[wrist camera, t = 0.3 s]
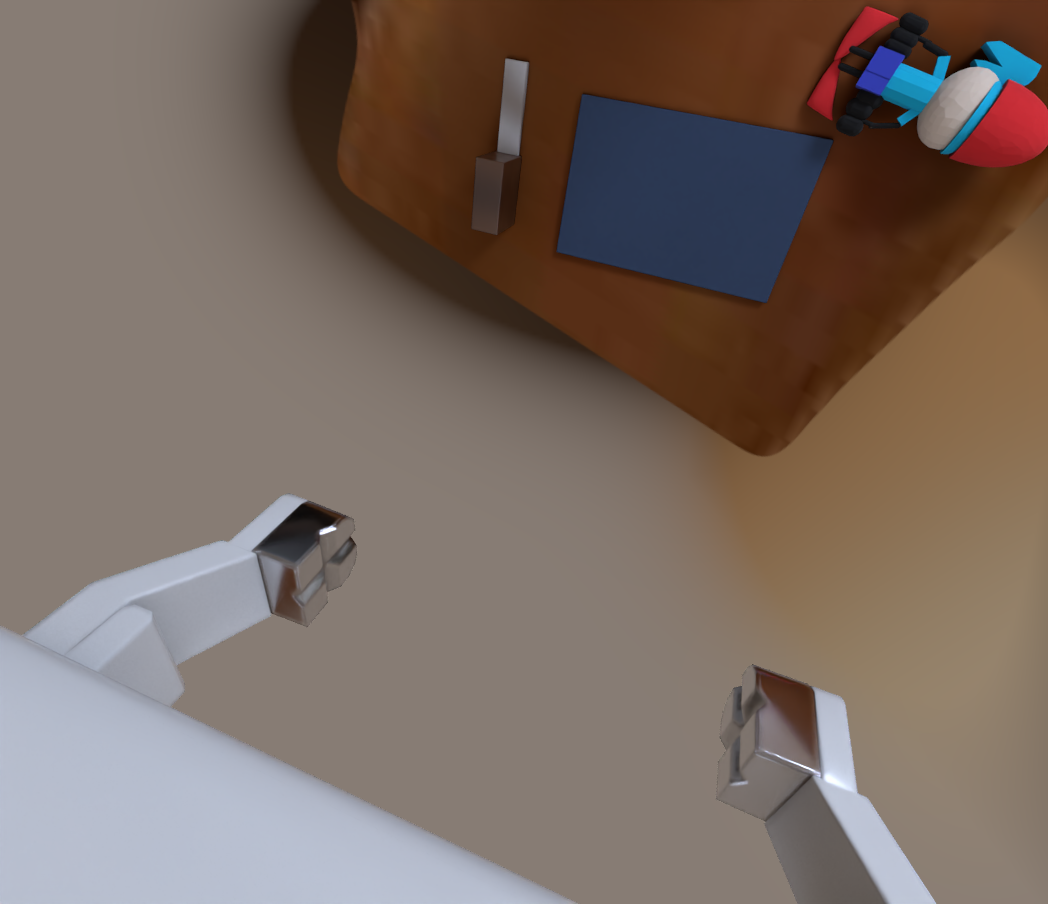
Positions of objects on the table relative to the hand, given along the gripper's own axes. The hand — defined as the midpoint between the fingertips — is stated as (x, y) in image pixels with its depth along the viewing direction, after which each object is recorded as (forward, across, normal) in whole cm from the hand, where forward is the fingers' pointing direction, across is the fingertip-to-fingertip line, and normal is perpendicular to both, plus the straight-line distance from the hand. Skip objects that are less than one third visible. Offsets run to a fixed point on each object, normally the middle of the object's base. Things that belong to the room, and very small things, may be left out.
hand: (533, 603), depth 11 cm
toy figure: (+47, -13, -9) cm, 49 cm away
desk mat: (+46, +2, +1) cm, 46 cm away
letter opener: (+46, +18, 0) cm, 50 cm away
